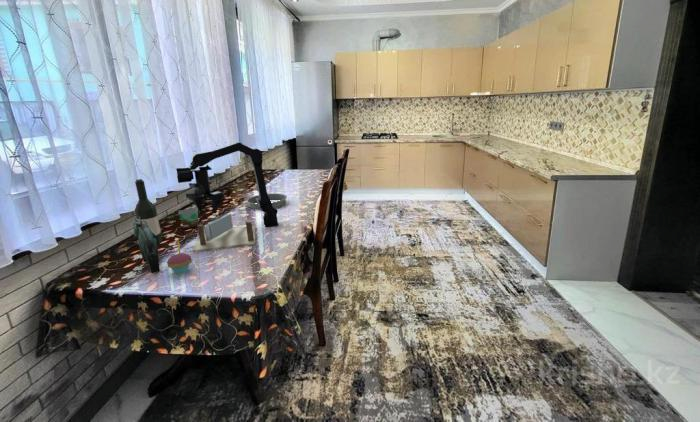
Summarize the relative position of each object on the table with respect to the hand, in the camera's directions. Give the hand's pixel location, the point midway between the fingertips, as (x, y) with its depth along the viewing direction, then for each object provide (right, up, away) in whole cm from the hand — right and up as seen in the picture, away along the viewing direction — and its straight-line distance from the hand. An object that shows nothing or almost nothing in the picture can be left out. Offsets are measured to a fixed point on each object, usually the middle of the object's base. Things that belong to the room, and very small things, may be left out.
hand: (207, 212), depth 169 cm
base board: (+10, -12, -2) cm, 16 cm away
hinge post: (+2, -15, -10) cm, 18 cm away
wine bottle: (-25, -14, -2) cm, 29 cm away
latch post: (+23, -13, -8) cm, 28 cm away
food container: (-15, -7, +20) cm, 26 cm away
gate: (+7, -10, -3) cm, 12 cm away
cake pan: (+16, +4, +54) cm, 56 cm away
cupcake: (+4, -23, -34) cm, 41 cm away
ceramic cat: (-11, -21, -27) cm, 36 cm away
